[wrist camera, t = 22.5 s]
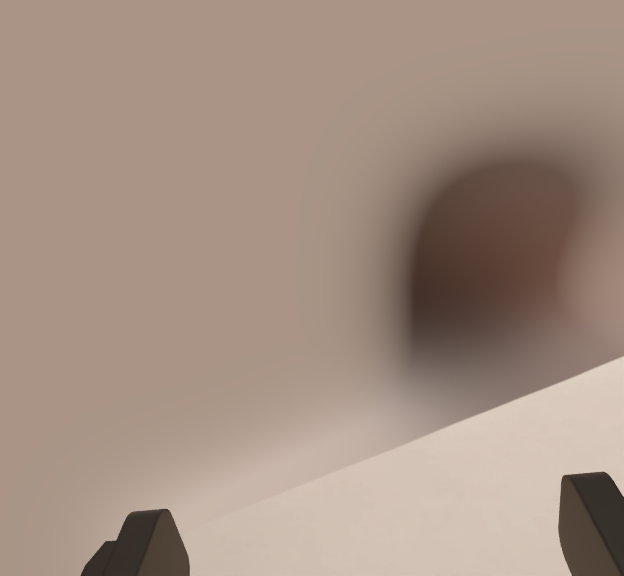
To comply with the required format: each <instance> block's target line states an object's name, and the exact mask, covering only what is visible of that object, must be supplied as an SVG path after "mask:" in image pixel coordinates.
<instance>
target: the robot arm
mask: <svg viewBox="0 0 624 576" xmlns="http://www.w3.org/2000/svg"><path fill="white" fill-rule="evenodd" d="M558 529H559V538H560V543H561V547H562V551H563V554H564V557H565V560H566V562H567V565H568V567H569V569H570V572H571V574H572V576H624V497H623V496H622V494H621V492H620V491H619V489H618V488H617V486H616V484H615V483H614V481H613V480H612V478H611V477H610V476H609V475H608V474H607V473H605V472H595V473H583V474H572V475H564V476H563V477H562V481H561V495H560V510H559V526H558ZM81 576H190V565H189V558H188V554H187V552H186V549H185V547H184V544H183V542H182V539H181V537H180V534H179V532H178V529H177V527H176V525H175V522H174V519H173V517H172V515H171V513H170V511H169V510H168V509H159V510H147V511H136V512H131V513H130V514H129V515H128V516H127V518H126V520H125V522H124V524H123V526H122V529H121V531H120V533H119V536H118V538H117V540H116V541H106V542H105V543H104V544H103V545H102V546H101V548H100V549H99V550H98V551H97V552H96V553H95V555H94V556H93V557H92V558H91V559H90V561H89V562H88V563H87V564H86V565H85V567H84V569H83V572H82V574H81Z"/></svg>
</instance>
